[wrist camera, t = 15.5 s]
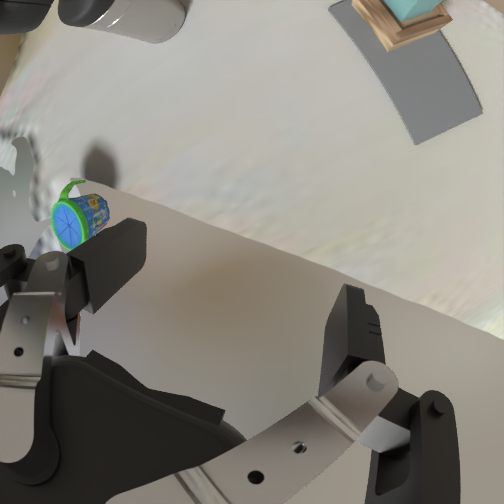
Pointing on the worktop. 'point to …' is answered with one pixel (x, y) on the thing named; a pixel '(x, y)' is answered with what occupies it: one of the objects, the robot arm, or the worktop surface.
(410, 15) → the teal brick
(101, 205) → the snack cup
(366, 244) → the worktop surface
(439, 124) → the baseplate
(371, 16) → the wooden crate
